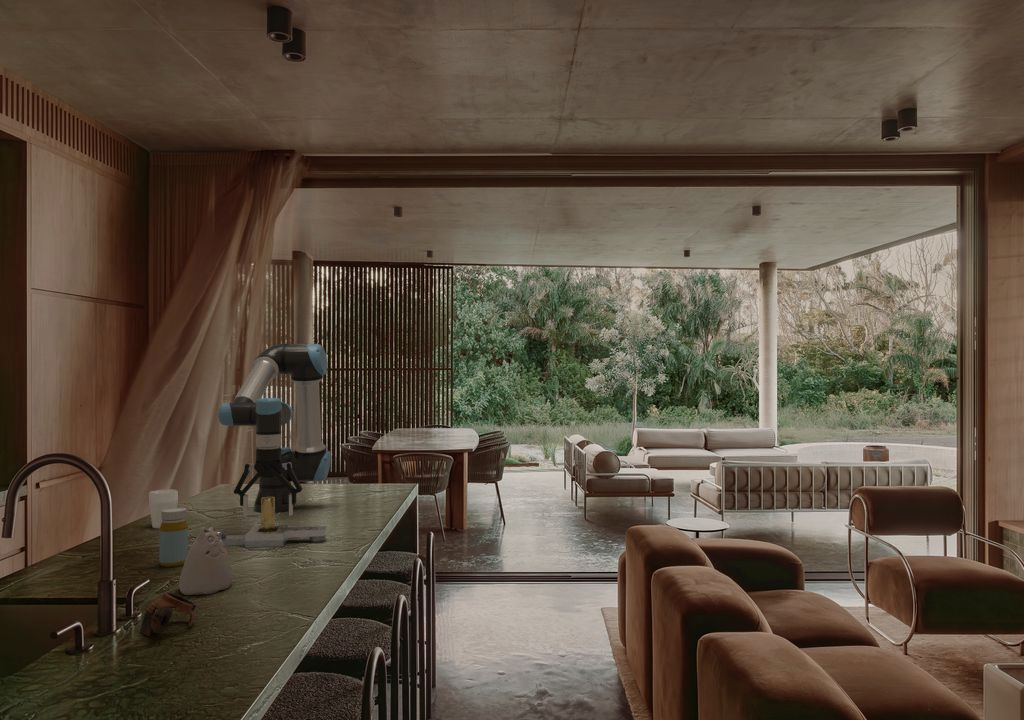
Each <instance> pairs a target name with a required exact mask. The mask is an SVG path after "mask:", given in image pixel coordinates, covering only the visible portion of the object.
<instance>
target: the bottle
mask: <svg viewBox="0 0 1024 720" xmlns="http://www.w3.org/2000/svg"><path fill="white" fill-rule="evenodd" d="M188 542H189V524H188V522H187V508H186V507H177V508H169V509H164V510H162V523H161V526H160V529H159V559H158V560H159V565H160V566H161V567H162V568H163V567H164V568H175V567H180V566H184V563H185V560H186V557H187V554H188V552H189V549H188V548H189V546H188V545H189V543H188Z"/></svg>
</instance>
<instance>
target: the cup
mask: <svg viewBox="0 0 1024 720" xmlns="http://www.w3.org/2000/svg"><path fill="white" fill-rule="evenodd" d="M178 493H179V492H178V489H172V488H171V489H170V488H168V489H167V488H165V489H156V490H152V491H149V492H148V494H149V495H148V505H149V512H150V520H151V526H152V528H153V529H159V530H160V526H161V523H162V510H164V509H169V508H178V503H179V502H178V501H179V494H178Z"/></svg>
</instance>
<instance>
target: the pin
mask: <svg viewBox="0 0 1024 720" xmlns="http://www.w3.org/2000/svg"><path fill="white" fill-rule="evenodd" d="M260 515H261V517H260V520H261V521H260V526H261V532H275V526H276V524H275V523H276V522H275V521H276V520H275V519H276V516H275V515H276V512H275V497H271V496H269V497H262V498H261V512H260Z"/></svg>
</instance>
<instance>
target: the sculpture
mask: <svg viewBox="0 0 1024 720" xmlns="http://www.w3.org/2000/svg"><path fill="white" fill-rule="evenodd" d="M216 530H217V529H215V528H214V527H213V526H210V527H209V528H205V527H203V528H202V529H201V530H200V532H199V533H198V534H197V537H196V538H195V540H194V541H193V543H192V544H191V546H190V549H188V554H187V557H186V560H185V563H184V565H182V566H183V567H182V570H181V573H180V577H179V580H178V581H179V582H178V586H179V591H180V593H181V594H183V595H185V596H198V595H200V596H201V595H211V594H216V593H218V592H219V591H223V590H227V589H229V588H230V587H231V584H232V583H233V569H232V565H231V561H230V558H229V555H228V551H227V549H226V546H224V543H223V541H222V539H221V537H220V535H219V534H218V532H217V531H216Z"/></svg>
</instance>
